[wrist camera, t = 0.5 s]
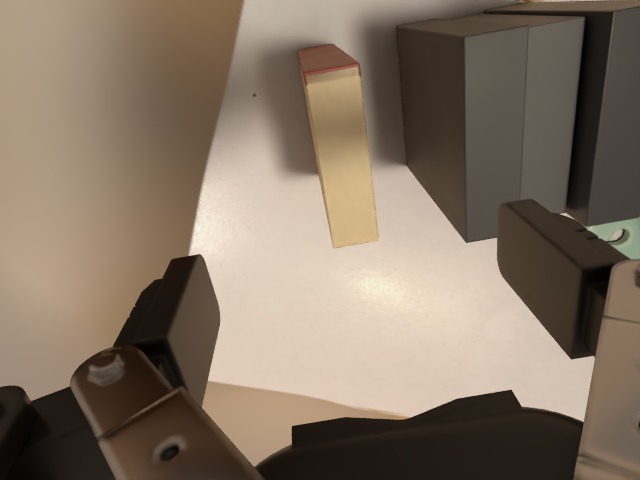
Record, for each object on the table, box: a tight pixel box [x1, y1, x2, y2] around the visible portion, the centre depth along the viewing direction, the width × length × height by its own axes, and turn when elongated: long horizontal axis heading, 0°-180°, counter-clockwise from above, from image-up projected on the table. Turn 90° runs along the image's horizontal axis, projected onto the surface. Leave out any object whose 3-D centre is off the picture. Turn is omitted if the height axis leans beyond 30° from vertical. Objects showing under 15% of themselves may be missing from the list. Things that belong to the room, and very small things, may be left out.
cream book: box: [297, 44, 379, 248], centre depth 27 cm, size 9×2×12 cm, turn 9°
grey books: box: [396, 0, 640, 243], centre depth 27 cm, size 10×9×14 cm
